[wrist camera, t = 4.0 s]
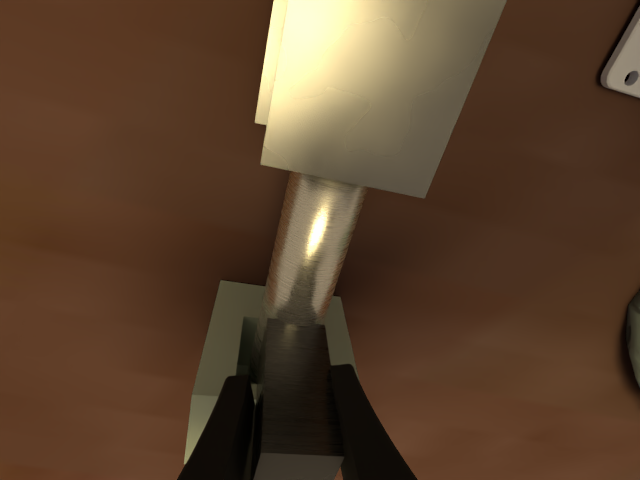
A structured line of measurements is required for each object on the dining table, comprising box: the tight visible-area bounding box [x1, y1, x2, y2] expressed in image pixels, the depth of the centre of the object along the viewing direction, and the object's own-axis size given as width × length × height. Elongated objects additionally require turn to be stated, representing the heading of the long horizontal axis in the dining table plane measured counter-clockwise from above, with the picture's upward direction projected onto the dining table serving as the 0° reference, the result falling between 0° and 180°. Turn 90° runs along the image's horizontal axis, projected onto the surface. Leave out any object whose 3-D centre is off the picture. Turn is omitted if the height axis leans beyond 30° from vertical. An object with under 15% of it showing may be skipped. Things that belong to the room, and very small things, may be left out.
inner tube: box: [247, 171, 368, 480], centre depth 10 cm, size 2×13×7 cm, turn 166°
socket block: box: [184, 280, 360, 464], centre depth 16 cm, size 6×4×6 cm, turn 76°
